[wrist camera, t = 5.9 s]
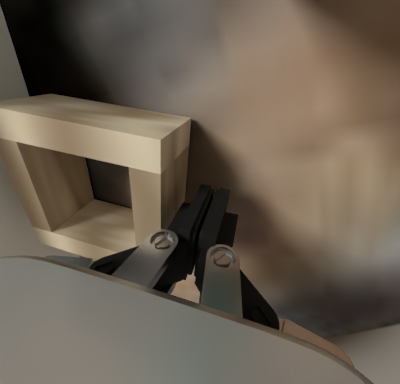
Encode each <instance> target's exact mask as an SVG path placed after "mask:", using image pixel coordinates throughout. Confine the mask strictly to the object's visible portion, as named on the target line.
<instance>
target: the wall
mask: <svg viewBox="0 0 400 384" xmlns="http://www.w3.org/2000/svg"><path fill="white" fill-rule="evenodd" d="M23 97H29V94H28V90H27V87H26V84H25V81H24V78H23V75H22V71H21V68H20V65H19V62H18V59H17V56H16V53H15V49H14V46H13V43H12V40H11V37H10V34H9V31H8V27H7V24H6V21H5V18H4V15H3V12H2V8H1V5H0V101H1V100H8V99H16V98H23ZM20 255H26V256H39V257H46V256H53V255H55V256H68V257H80V255H77V254H74V253H71V252H67V251H64V250H61V249H58V248H55V247H52V246H49V245H45V244H42V243H39V240H38V238H37V236H36V234H35V232H34V229H33V227H32V225H31V223H30V221H29V218H28V216H27V214H26V212H25V209H24V207H23V205H22V203H21V201H20V198H19V196H18V194H17V192H16V190H15V187H14V185H13V183H12V181H11V179H10V176H9V174H8V172H7V170H6V167H5V165H4V163H3V161H2V159H1V156H0V257H5V256H20Z"/></svg>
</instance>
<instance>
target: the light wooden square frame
mask: <svg viewBox="0 0 400 384" xmlns="http://www.w3.org/2000/svg"><path fill="white" fill-rule="evenodd" d="M190 127H191V118H189V117H183V116H177V115H172V114H166V113H160V112H154V111H148V110H143V109H137V108H131V107H125V106H120V105H114V104H108V103H102V102H97V101H91V100H85V99H79V98H73V97H68V96H62V95H56V94H45V95H38V96H30V97H23V98H16V99H8V100H1V101H0V156H1V159H2V161H3V163H4V165H5V167H6V170H7V172H8V174H9V176H10V179H11V181H12V183H13V185H14V187H15V190H16V192H17V194H18V196H19V198H20V201H21V203H22V205H23V207H24V209H25V212H26V214H27V216H28V218H29V221H30V223H31V225H32V227H33V229H34V232H35V234H36V236H37V238H38V240H39V243H42V244H45V245H49V246H52V247H55V248H58V249H61V250H64V251H67V252H71V253H74V254H77V255H80V256H83V257H86V258H93V260H98V259H100V258H103V257H106V256H109V255H112V254H115V253H118V252H121V251H124V250H127V249H131V248H134V247H137V246H139V245H140V244H141V243H142V242H143V241H144V240H145V239H146V238H147V237H148V236H149V235H150V234H151V233H152V232H154V231H156V230H161V229H166V230H167V228H168V227H169V225H170V223H171V222H172V220H173V218H174V217H175V215H176V213H177V212H178V210H179V208H180V207H181V205H182V203H183V202H185V193H186V180H187V167H188V153H189V140H190ZM85 157H86V158H90V159H95V160H99V161H104V162H108V163H113V164H117V165H121V166H126V167H129V177H130V188H131V198H132V209H130V208H126V207H123V206H119V205H115V204H111V203H107V202H104V201H100V200H96V199H94V196H93V192H92V187H91V182H90V178H89V173H88V168H87V164H86V159H85Z"/></svg>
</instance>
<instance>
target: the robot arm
mask: <svg viewBox="0 0 400 384" xmlns="http://www.w3.org/2000/svg"><path fill="white" fill-rule="evenodd" d="M213 193H214V189H211V186H209V185H205V184H201V186H200V188H199V190H198V192H197V193H196V195H195V197H194V199H193V201H192V203H191V204H190V203H186V202H183V203H182V205H181V207H180V208H179V210H178V212H177V213H176V215H175V217H174V218H173V220H172V222H171V223H170V225H169V227H168V228H167V230H166V229H161V230H156V231H154V232H152V233H151V234H150V235H149V236H148V237H147V238H146V239H145V240H144V241H143V242H142V243H141V244H140V245H139V246H137V247H134V248H131V249H127V250H124V251H121V252H118V253H115V254H112V255H109V256H106V257H103V258H100V259H98V260H96V261H93V258H81V257H68V256H55V255H53V256H46V257H39V256H26V255H20V256H5V257H0V384H373V383H372V382H371V381H370V380H369V379H367V378H366V377H365V376H364V375H363V374H361V373H360V372H359V371H357V370H356V369H355V368H354V365H353V363H352V361H351V360H350V358H349V357H348V356H347V355H346V354H345V352H344V351H343V350H341V349H340V348H338V347H337V346H336V345H334V344H332V343H330V342H329V341H327V340H325V339H323V338H321V337H319V336H318V335H316V334H314V333H312V332H310V331H308V330H306V329H305V328H303V327H301V326H299V325H297V324H295V323H293V322H292V321H290V320H288V319H285V320H283V319H281V318H279V317H277V315H276V313H275V312H274V310H273V309H272V308H271V306H270V305H269V304H268V303H267V301H266V300H265V299H264V298H263V297H262V295H261V294H260V293H259V292H258V290H257V289H256V288H255V287H254V286H253V284H252V283H251V282H250V281H249V280H248V278H247V277H246V276H245V275H244V273H243V272H242V271H241V270H240V263H239V256H238V254H237V252H236V251H235V250H234V249H233V248H232V246H233V241H234V235H235V230H236V224H237V219H238V215H236V214H232V213H228V212H226V207H227V203H228V198H229V193H230V190H227V189H223V188H221V189H220V190H216V192H215V195H214V197H213ZM212 199H213V200H212ZM195 263H196V264H195ZM194 266H195V272H194V276H196V279H195V284H196V286H197V288H198V290H199V291H200V298H199V304H198V303H195V302H192V301H188V300H185V299H182V298H179V297H176V296H173V295H170V294H171V293H172V291H173V289H174V288H175V285H176V282H179V281H181V280H186V277H187V275H188V274H189V275H191V274H192V272H193V269H194Z"/></svg>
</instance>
